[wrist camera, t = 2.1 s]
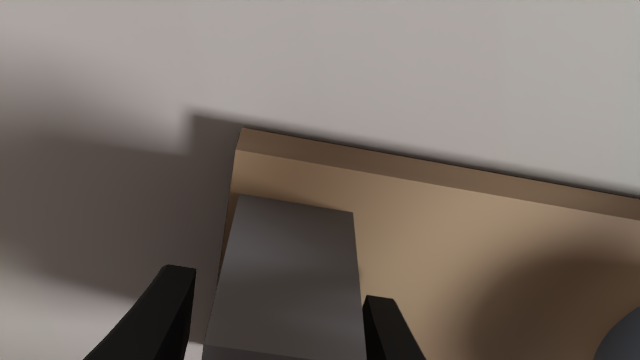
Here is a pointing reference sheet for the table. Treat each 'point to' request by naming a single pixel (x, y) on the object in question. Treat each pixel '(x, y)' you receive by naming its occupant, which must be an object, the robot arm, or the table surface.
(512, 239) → the strip
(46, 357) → the table surface
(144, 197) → the table surface
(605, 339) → the blue-grey rounded block
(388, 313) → the robot arm
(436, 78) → the table surface
